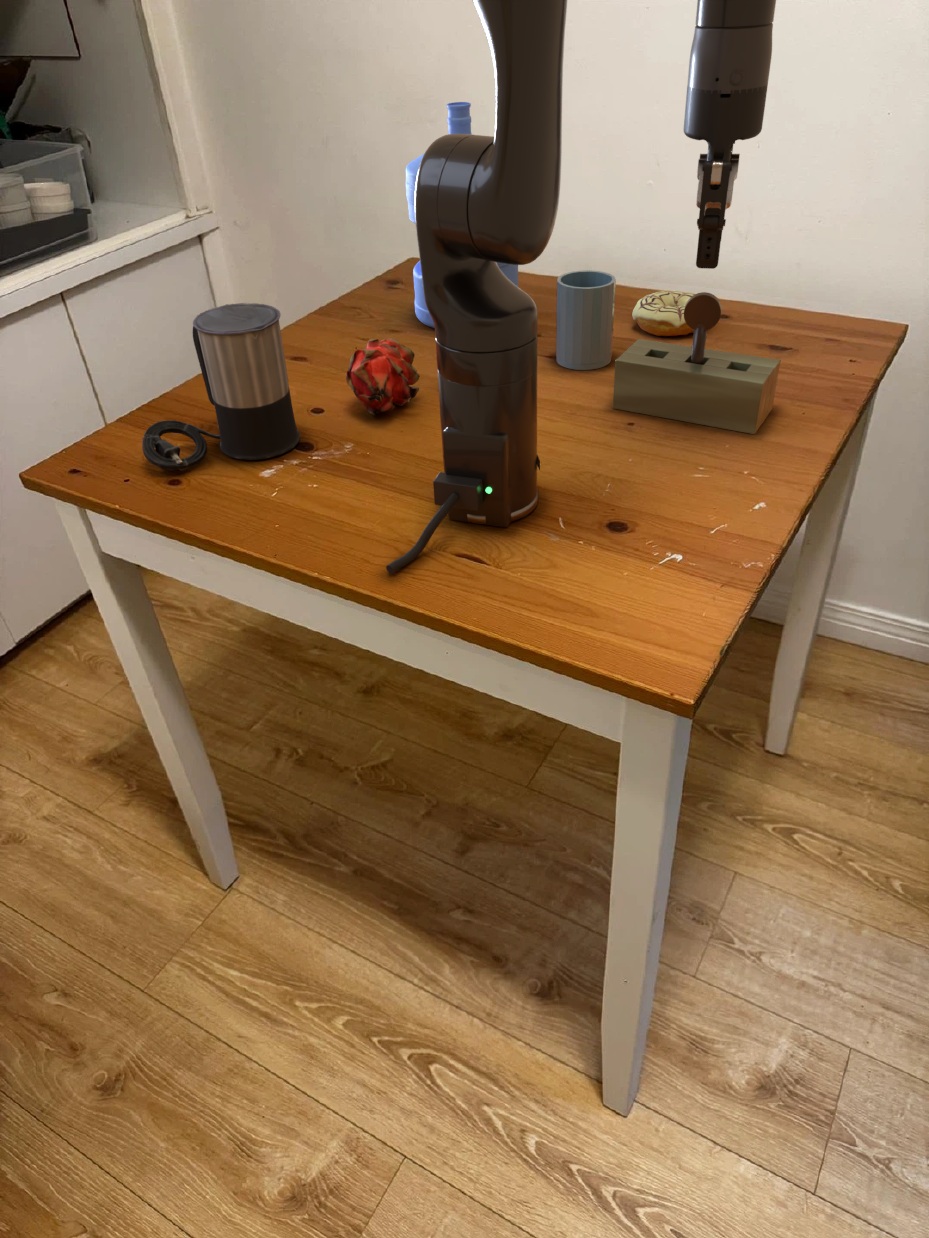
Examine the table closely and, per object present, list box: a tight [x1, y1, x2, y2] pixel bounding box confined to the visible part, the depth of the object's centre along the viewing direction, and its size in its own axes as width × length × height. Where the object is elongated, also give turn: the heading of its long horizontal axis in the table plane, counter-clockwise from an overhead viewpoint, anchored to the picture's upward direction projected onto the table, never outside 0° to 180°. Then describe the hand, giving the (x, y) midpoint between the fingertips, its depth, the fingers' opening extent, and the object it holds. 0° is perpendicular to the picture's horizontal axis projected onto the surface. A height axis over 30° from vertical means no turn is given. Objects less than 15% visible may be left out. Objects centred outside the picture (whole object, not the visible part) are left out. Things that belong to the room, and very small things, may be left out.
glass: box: [555, 269, 617, 371], centre depth 118 cm, size 7×7×10 cm
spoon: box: [684, 291, 722, 365], centre depth 104 cm, size 4×1×14 cm, turn 75°
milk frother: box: [141, 302, 301, 471], centre depth 100 cm, size 14×16×15 cm
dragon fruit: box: [345, 337, 421, 417], centre depth 111 cm, size 8×8×12 cm
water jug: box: [405, 101, 519, 329], centre depth 129 cm, size 16×16×28 cm
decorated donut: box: [631, 290, 696, 337], centre depth 129 cm, size 10×11×4 cm
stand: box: [612, 338, 781, 435], centre depth 106 cm, size 7×17×6 cm, turn 60°
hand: (708, 255), depth 98 cm, fingers open, 8 cm apart
